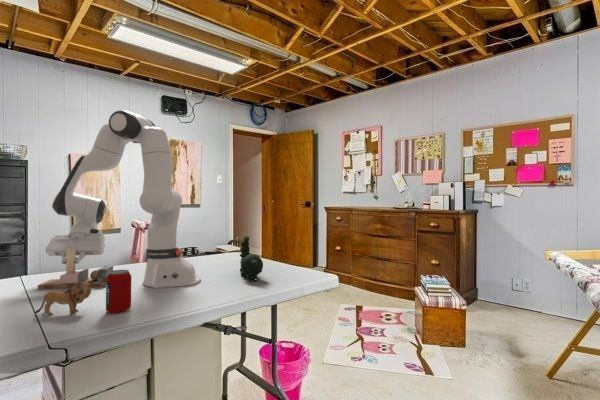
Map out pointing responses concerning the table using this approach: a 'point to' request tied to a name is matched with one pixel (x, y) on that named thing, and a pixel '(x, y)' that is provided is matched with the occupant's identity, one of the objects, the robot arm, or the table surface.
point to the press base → (95, 280)
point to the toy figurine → (249, 262)
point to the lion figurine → (67, 297)
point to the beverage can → (118, 291)
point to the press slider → (72, 269)
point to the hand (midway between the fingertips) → (70, 262)
